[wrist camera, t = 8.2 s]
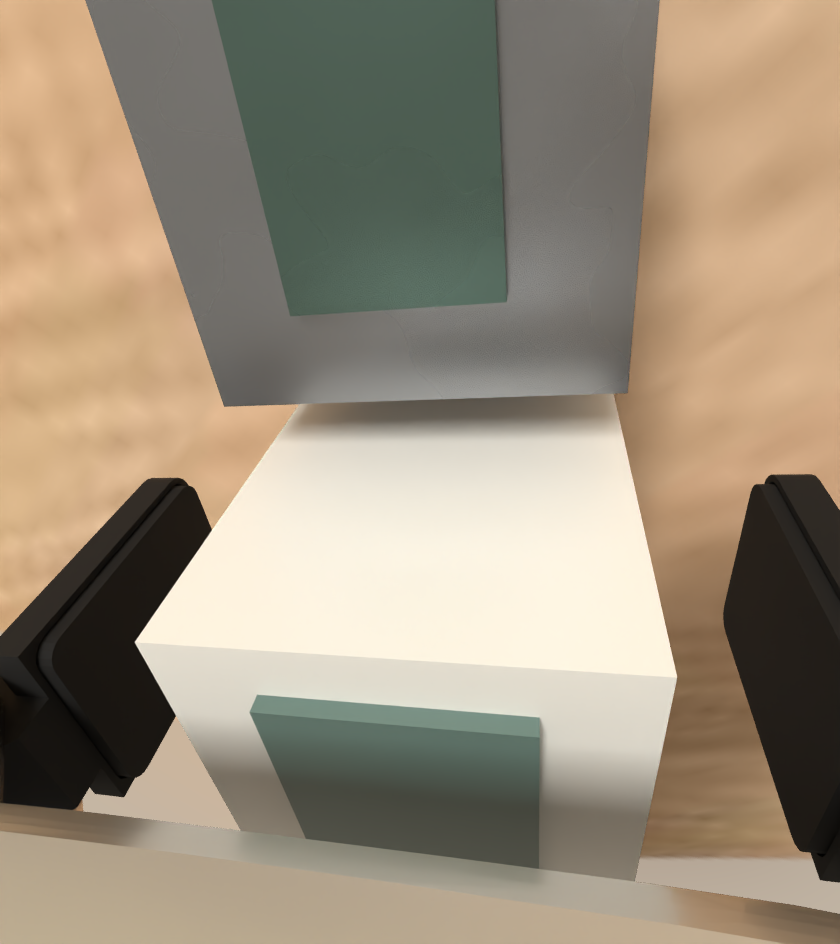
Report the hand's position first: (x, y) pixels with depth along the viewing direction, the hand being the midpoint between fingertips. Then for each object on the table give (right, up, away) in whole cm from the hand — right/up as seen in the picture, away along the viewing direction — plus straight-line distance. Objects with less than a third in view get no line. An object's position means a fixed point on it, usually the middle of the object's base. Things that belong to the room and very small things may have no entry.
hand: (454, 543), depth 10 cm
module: (+1, +2, +3) cm, 4 cm away
